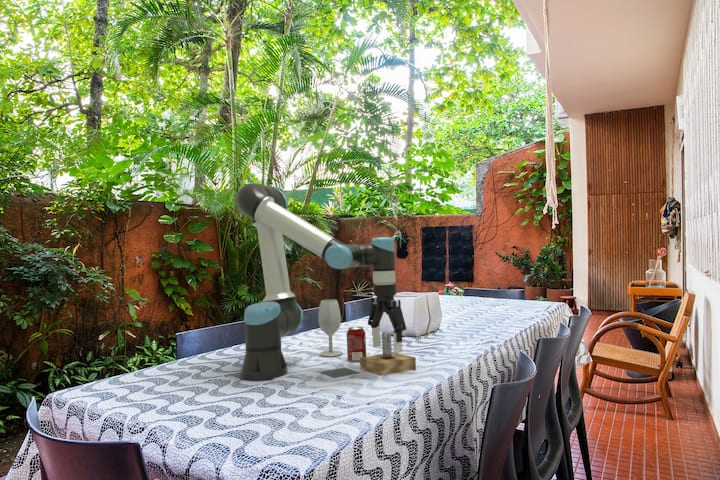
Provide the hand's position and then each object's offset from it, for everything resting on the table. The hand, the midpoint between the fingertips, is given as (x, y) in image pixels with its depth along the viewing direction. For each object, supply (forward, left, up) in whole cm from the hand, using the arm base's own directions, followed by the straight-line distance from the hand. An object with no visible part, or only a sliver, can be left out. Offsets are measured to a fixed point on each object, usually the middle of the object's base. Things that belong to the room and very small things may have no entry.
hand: (387, 349), depth 167 cm
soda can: (-1, +18, -7) cm, 19 cm away
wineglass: (-3, +34, -7) cm, 35 cm away
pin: (0, 0, -7) cm, 7 cm away
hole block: (0, 0, -7) cm, 7 cm away
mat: (-15, +6, -7) cm, 17 cm away
